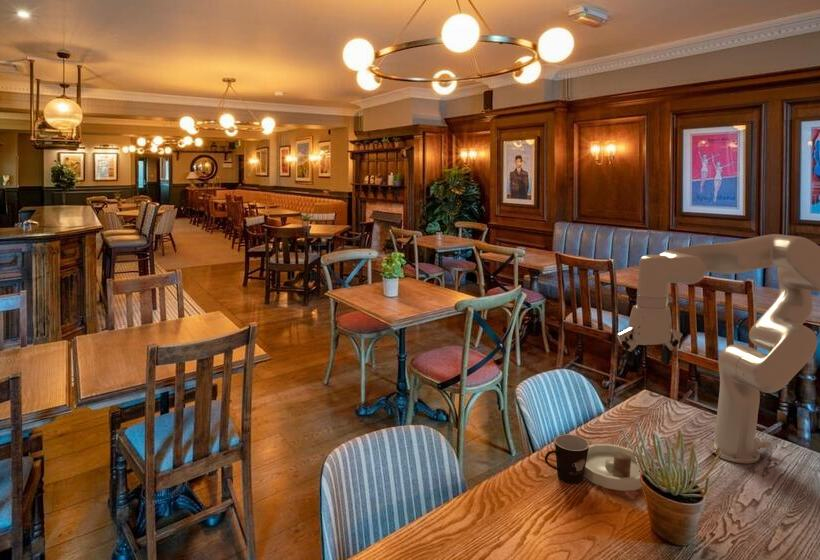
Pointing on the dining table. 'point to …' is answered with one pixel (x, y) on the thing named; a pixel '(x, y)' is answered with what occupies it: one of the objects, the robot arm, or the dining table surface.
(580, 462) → the coffee mug
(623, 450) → the tray
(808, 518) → the dining table surface
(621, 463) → the cylinder
